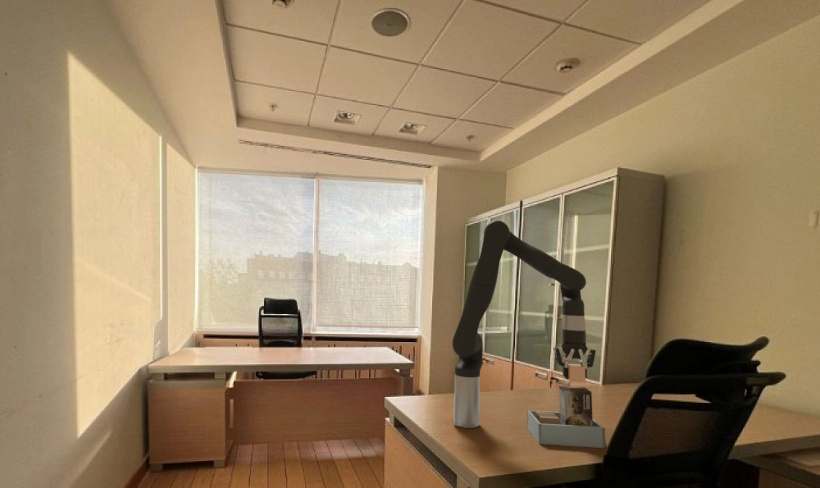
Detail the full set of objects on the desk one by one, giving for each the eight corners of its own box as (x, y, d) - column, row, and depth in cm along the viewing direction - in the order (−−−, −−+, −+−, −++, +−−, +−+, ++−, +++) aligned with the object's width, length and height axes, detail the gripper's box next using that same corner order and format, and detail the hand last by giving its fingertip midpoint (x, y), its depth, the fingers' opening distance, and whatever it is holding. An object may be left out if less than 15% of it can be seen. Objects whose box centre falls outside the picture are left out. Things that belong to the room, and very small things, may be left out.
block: (559, 437, 123) (558, 418, 124) (540, 436, 124) (540, 417, 124) (553, 431, 129) (553, 413, 130) (535, 430, 130) (535, 411, 130)
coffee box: (586, 435, 128) (585, 386, 131) (594, 443, 122) (592, 391, 124) (559, 433, 129) (558, 385, 131) (565, 440, 123) (564, 389, 125)
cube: (570, 381, 126) (569, 366, 126) (564, 378, 131) (564, 363, 131) (585, 382, 125) (584, 367, 126) (579, 379, 130) (579, 364, 131)
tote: (539, 443, 119) (538, 424, 120) (527, 427, 134) (527, 410, 135) (605, 448, 118) (604, 428, 119) (586, 431, 133) (585, 413, 133)
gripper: (556, 328, 127) (557, 380, 125) (599, 330, 126) (601, 382, 124) (549, 326, 135) (550, 375, 132) (590, 328, 134) (591, 377, 131)
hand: (574, 378), depth 128 cm, fingers closed on cube, 5 cm apart
